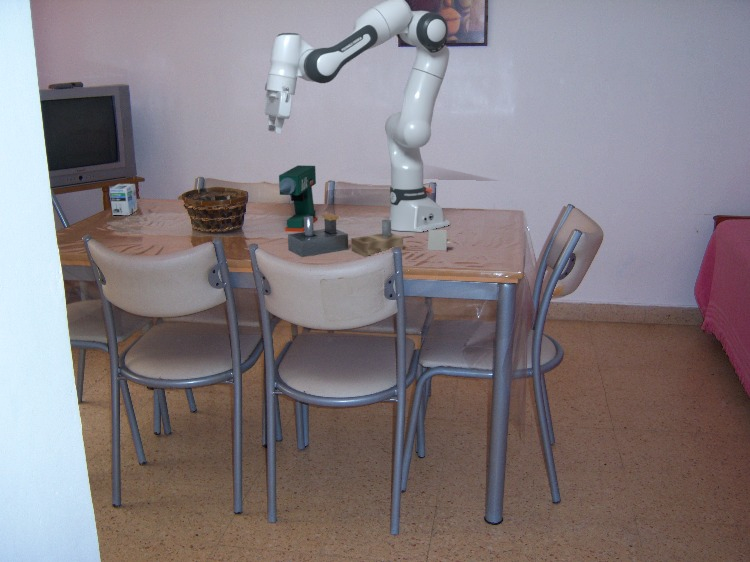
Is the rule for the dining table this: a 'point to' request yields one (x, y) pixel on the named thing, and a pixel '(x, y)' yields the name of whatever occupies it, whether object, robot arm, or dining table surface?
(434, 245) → the pale grey square block
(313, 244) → the socket block
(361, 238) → the rack
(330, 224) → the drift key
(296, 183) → the power tool
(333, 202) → the dining table surface
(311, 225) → the bit
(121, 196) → the light bulb box
